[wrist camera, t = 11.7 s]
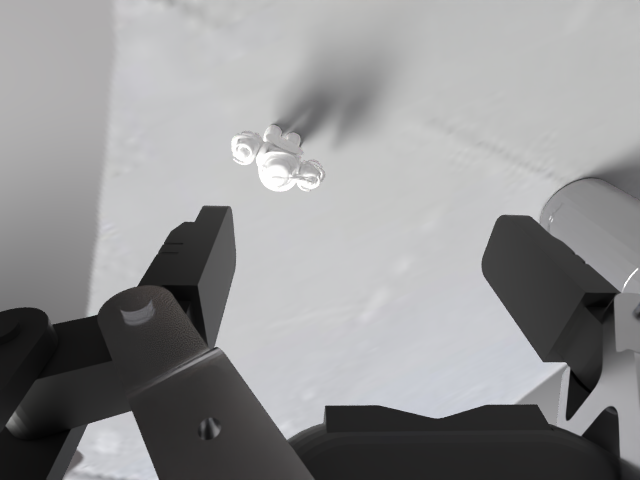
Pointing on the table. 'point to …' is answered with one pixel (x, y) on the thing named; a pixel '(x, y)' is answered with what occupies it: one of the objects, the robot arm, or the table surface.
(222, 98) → the table surface
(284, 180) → the flower shoulder figurine
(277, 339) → the table surface
